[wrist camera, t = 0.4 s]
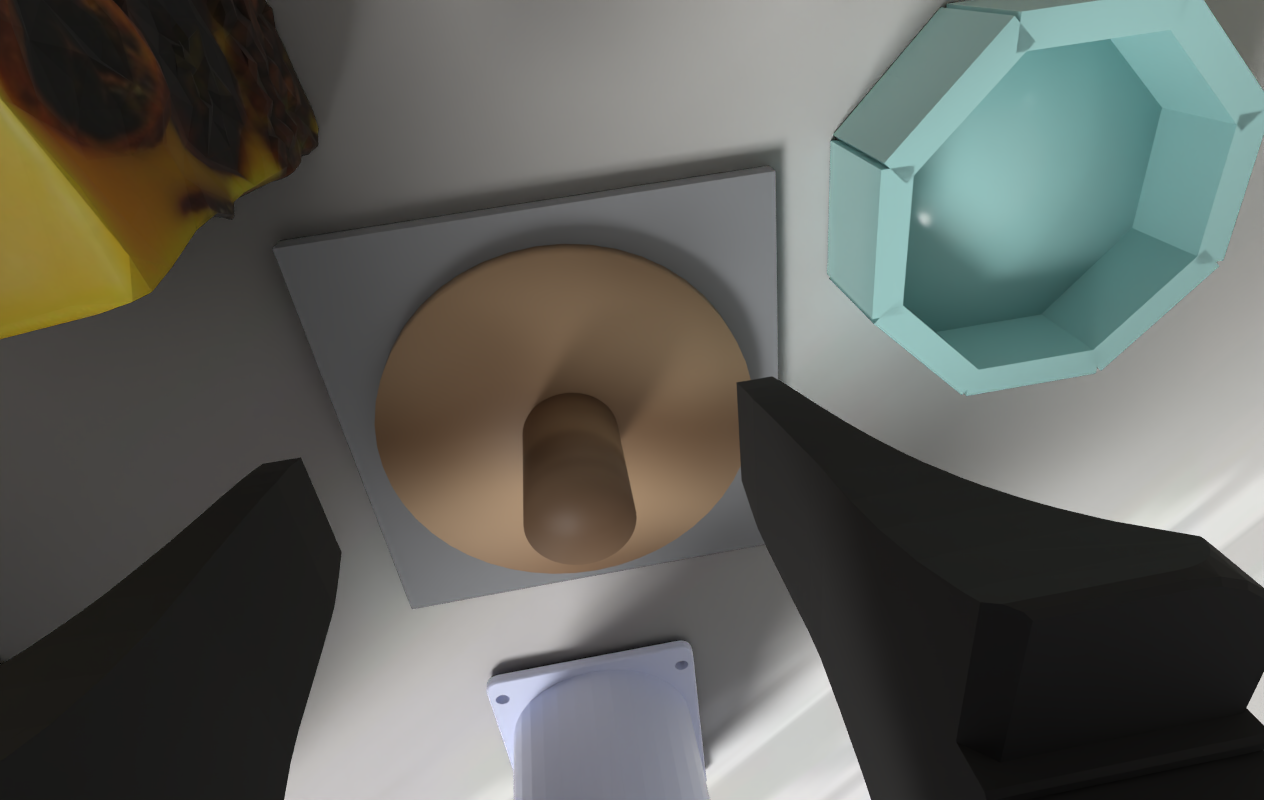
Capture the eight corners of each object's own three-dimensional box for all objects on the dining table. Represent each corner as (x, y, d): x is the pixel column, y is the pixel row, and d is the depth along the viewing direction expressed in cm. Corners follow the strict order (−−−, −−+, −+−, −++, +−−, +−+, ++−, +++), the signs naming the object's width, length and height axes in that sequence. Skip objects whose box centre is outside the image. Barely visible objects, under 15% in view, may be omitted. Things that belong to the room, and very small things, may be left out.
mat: (775, 530, 27) (780, 541, 26) (413, 596, 26) (411, 609, 25) (768, 165, 20) (775, 171, 19) (278, 240, 19) (272, 248, 19)
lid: (751, 525, 26) (796, 633, 21) (433, 582, 25) (417, 704, 21) (739, 214, 20) (797, 280, 16) (325, 279, 19) (274, 365, 15)
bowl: (1114, 310, 24) (1192, 356, 21) (824, 359, 23) (866, 413, 21) (1200, -33, 19) (1317, -32, 16) (833, 19, 18) (889, 31, 16)
